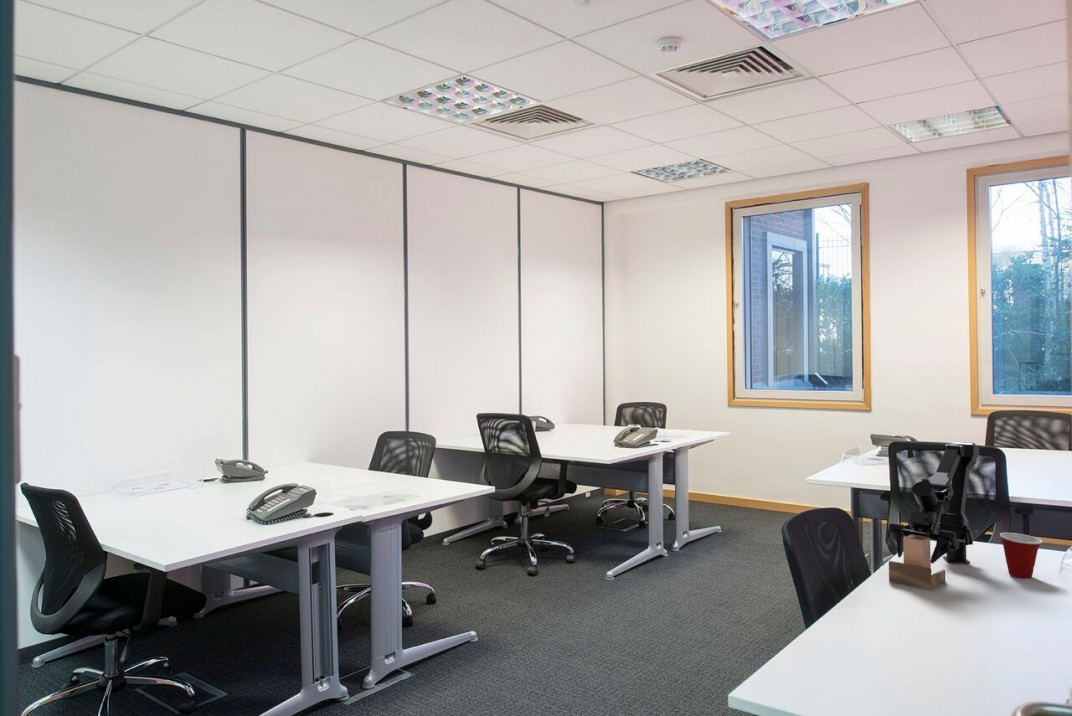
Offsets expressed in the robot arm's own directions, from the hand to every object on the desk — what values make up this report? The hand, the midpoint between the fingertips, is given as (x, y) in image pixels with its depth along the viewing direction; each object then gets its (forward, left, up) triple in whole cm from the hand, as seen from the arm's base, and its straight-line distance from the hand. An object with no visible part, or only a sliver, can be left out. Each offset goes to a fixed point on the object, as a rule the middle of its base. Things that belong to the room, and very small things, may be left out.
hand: (915, 559), depth 221 cm
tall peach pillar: (-1, +1, -7) cm, 7 cm away
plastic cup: (-13, +32, -7) cm, 35 cm away
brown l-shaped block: (-1, +1, -7) cm, 7 cm away
